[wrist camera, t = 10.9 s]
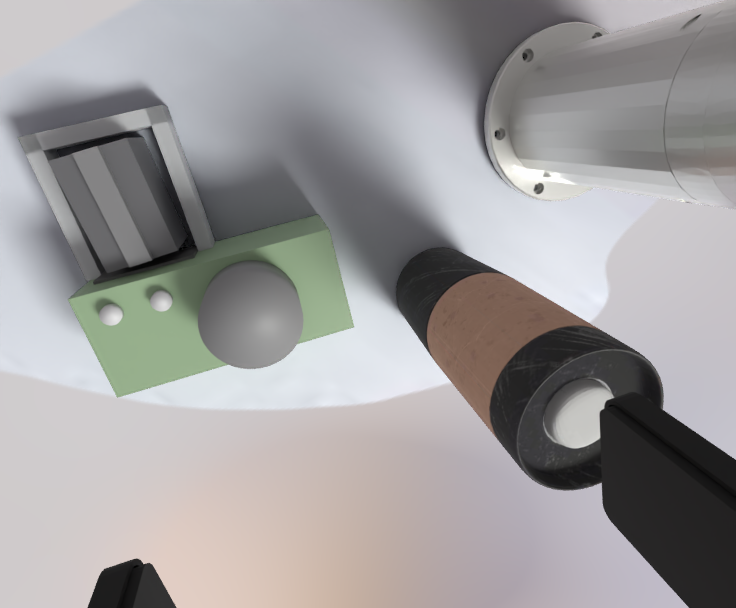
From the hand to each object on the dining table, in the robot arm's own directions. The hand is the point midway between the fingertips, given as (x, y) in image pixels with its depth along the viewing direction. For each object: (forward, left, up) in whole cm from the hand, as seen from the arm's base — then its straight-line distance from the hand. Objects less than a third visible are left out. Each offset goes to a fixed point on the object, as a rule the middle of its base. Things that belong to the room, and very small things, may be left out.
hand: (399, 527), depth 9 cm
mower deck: (+6, -3, -28) cm, 29 cm away
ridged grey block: (+10, -6, -28) cm, 31 cm away
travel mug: (-10, +7, -28) cm, 31 cm away
